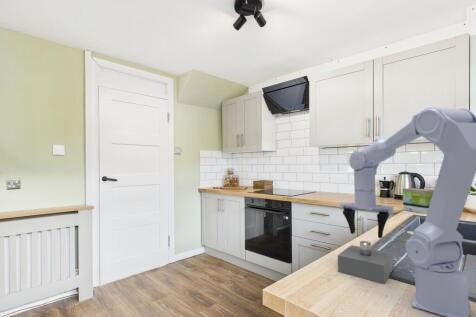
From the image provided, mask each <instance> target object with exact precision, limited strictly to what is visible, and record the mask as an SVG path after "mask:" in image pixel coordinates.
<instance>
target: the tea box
mask: <svg viewBox="0 0 476 317" xmlns="http://www.w3.org/2000/svg"><path fill="white" fill-rule="evenodd" d="M433 192H434V189H427V188H415V187H409V188H408V187H407V188H402V208H403V211H408V212H414V213H419V214H424V215H427V212H428V209H429V206H430V202H431V199H432V196H433Z"/></svg>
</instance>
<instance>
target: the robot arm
mask: <svg viewBox="0 0 476 317" xmlns="http://www.w3.org/2000/svg"><path fill="white" fill-rule="evenodd" d="M421 137H423V138H424V139H425V140H427V141H429V142H430V143H431V144H433V145H434V146H436V147H437V148H438V149H439V150H440V151H441V152H442V154H443V160H442V162H441V166H440V170H439V172H438V175H437V179H436V182H435V186H434V189H433V190H434V192H433V196H432V199H431V202H430V206H429V209H428V212H427V214H426V216H425V220H424V221H423V222H422V223H421V224H420V225H419V226H417V227H416V228H415V229H414V230H413V233H412V236H411V237H409V238H408V239H407V240H406V242H405V251H406V254H407V257H408V258H409V260H410V261H411V264H412V265H414V282H415V283H414V284H415V294H414V295H413V299H412V303H411V306H412V307H413V308H415V309H420V310H422V311H426V312H430V313H432V314H436V315H440V316H443V317H470V311H469V310H472V309H471V299H469V285H468V273H467V272H466V271H462V270H459V269H457V262H459V261H461V260H462V258H463V255H464V250H463V244H462V243H463V240H464V237H463V235H462V234H461V233H460V232H459V231H458V230H457V229H458V226H459V223H460V221H461V218H462V215H463V212H464V209H465V205H466V202H467V200H468V197H469V194H470V190H471V188H472V184H473V181H474V179H475V176H476V114H475V113H474V112H473V111H472V110H470V109H468V108H443V107H437V106H436V107H435V106H429V107H426V108H424V109H422V110H421V111H420V112H419V113H417V114H414V115H413V116H412V118H411V120H410V121H409V122H407V124H404V126H403V127H401V128H400V129H399V130H398V129H397V131H396V132H394V133H393V134H391V135H390V136H389V137H388V138H386V137H377V138H375V139H374V140H373V141H374V142H373V143H371V144H369V145H368V146H364V147H363V149H362V150H354V151H353V152H352V153H351V154H350V156H349V161H348V162H349V166H350V168H351V169H352V170H353V177H354V178H353V181H354V182H353V183H354V202H340V203H339V209H340V210H343V211H342V214H343V216H344V218H345V220H346V222H347V224H348V227H349V231H350V234H352V235H354V234H355V233H356V224H355V223H356V222H355V220H356V211H358V212H359V211H360V212H371V213H377V214H376V219H377V226H378V227H377V228H378V229H377V230H378V231H377V237H378V238H379V239H382V238H383V235H384V229H385V227H386V223H387V221H388V219H389V218H390V215H393V214H394V206H389V205H382V204H381V205H380V204H377V200H376V199H377V196H376V194H377V192H376V174H377V172H378V171H377V170H378V167H379V165H380V163H383V162H384V161H386V160H387V159H389V158H391V157H393V156H395V155H396V152H397V149H399V148H401V147H402V146H405V145H407V144H409V143H411V142H413V141H414V140H417V139H419V138H421ZM378 238H377V239H378Z"/></svg>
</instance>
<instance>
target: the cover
mask: <svg viewBox="0 0 476 317" xmlns="http://www.w3.org/2000/svg"><path fill="white" fill-rule="evenodd" d="M394 259H395V258H394V253H393V252H389V251H385V250H384V251H383V250H380V249H373V248H372V242H371V241H367V240H361V241H359V246H358V245H353V244H352V245H349V246H348V247H346V248H345V249H344V250H343V251H341V252H340V253H338V255H337V271H338V273H341V274H346V275H348V276H349V275H350V276H353V277H356V278H360V279H364V280H367V281H372V282H374V283H375V282H376V283H379V284H382V285H385V284H386V283H387V280H388V279H389V277H390V276H391V275H390V273H391V272H392V270H393V269H395V268H394V267H395V266H394ZM393 271H394V270H393ZM392 273H393V272H392ZM392 273H391V274H392ZM389 275H390V276H389Z"/></svg>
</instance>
